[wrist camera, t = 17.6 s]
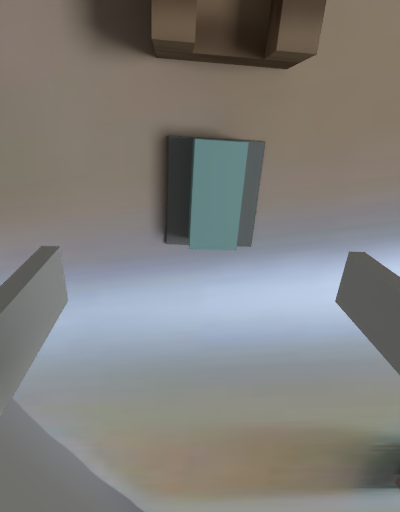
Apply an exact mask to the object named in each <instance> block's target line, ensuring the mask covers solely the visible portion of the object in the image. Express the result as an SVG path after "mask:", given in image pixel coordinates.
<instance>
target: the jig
mask: <svg viewBox="0 0 400 512" xmlns="http://www.w3.org/2000/svg"><path fill="white" fill-rule="evenodd" d="M325 5H326V0H151V39H152V43H153V46H154V50H155V54H156V57H157V58H166V59H178V60H189V61H201V62H212V63H224V64H235V65H247V66H258V67H270V68H281V69H288V68H290V67H292V66H294V65H296V64H298V63H300V62H302V61H304V60H306V59H308V58H310V57H312V56H314V55H316V54H317V49H318V44H319V38H320V33H321V27H322V22H323V16H324V10H325Z"/></svg>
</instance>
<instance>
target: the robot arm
mask: <svg viewBox="0 0 400 512" xmlns="http://www.w3.org/2000/svg"><path fill="white" fill-rule="evenodd" d="M67 302H68V297H67V290H66V283H65V276H64V270H63V263H62V256H61V249H60V247H59V246H41V247H40V248H39V249H38V250H37V251H36V252H35V253H34V254H33V255H32V256H31V257H30V258H29V259H28V260H27V261H26V262H25V263H24V264H23V265H22V266H21V267H20V268H19V269H18V270H17V271H16V272H15V273H13V274H12V275H11V276H10V277H9V278H8V279H7V280H6V281H5V282H4V283H3V284H2V285H1V286H0V418H1V416H2V414H3V412H4V411H5V409H6V407H7V406H8V404H9V402H10V401H11V399H12V397H13V395H14V394H15V392H16V390H17V388H18V387H19V385H20V383H21V381H22V380H23V378H24V376H25V375H26V373H27V371H28V369H29V368H30V366H31V364H32V362H33V361H34V359H35V357H36V356H37V354H38V352H39V350H40V349H41V347H42V345H43V343H44V342H45V340H46V338H47V336H48V335H49V333H50V331H51V330H52V328H53V326H54V324H55V323H56V321H57V319H58V317H59V316H60V314H61V312H62V311H63V309H64V307H65V305H66V304H67ZM335 302H336V303H337V304H338V305H339V306H340V307H341V309H342V310H343V311H344V312H345V313H346V314H347V315H348V317H349V318H350V319H351V320H352V321H353V322H354V323H355V325H356V326H357V327H358V328H359V329H360V330H361V331H362V333H363V334H364V335H365V336H366V337H367V338H368V339H369V341H370V342H371V343H372V344H373V345H374V346H375V347H376V348H377V350H378V351H379V352H380V353H381V354H382V355H383V356H384V358H385V359H386V360H387V361H388V362H389V363H390V364H391V366H392V367H393V368H394V369H395V370H396V371H397V372H398V374H399V375H400V277H399V276H397V275H396V274H395V273H393V272H392V271H390V270H389V269H388V268H386V267H385V266H383V265H382V264H381V263H379V262H378V261H376V260H375V259H373V258H372V257H371V256H369V255H368V254H366V253H365V252H349V254H348V257H347V261H346V264H345V268H344V272H343V275H342V279H341V282H340V286H339V290H338V293H337V297H336V301H335Z"/></svg>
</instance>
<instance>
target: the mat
mask: <svg viewBox="0 0 400 512" xmlns="http://www.w3.org/2000/svg"><path fill="white" fill-rule="evenodd" d="M193 138H197V137H182V136H169V139H168V190H167V240H166V244H182V245H189V242H188V230H189V210H190V189H191V169H192V148H193ZM208 139H213V138H208ZM224 140H229V139H224ZM240 141H245V140H240ZM245 142H249V143H248V152H247V161H246V169H245V178H244V186H243V195H242V204H241V212H240V221H239V229H238V238H237V246H248V247H251V244H252V237H253V229H254V222H255V215H256V207H257V200H258V193H259V185H260V178H261V171H262V163H263V156H264V149H265V142H260V141H245Z"/></svg>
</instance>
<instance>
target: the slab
mask: <svg viewBox="0 0 400 512" xmlns="http://www.w3.org/2000/svg"><path fill="white" fill-rule="evenodd" d="M248 143H249V142H245V141H240V140H224V139H208V138H193V148H192V169H191V189H190V210H189V230H188V242H189V249H212V250H236V247H237V238H238V229H239V221H240V212H241V204H242V195H243V186H244V178H245V169H246V161H247V152H248Z"/></svg>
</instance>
